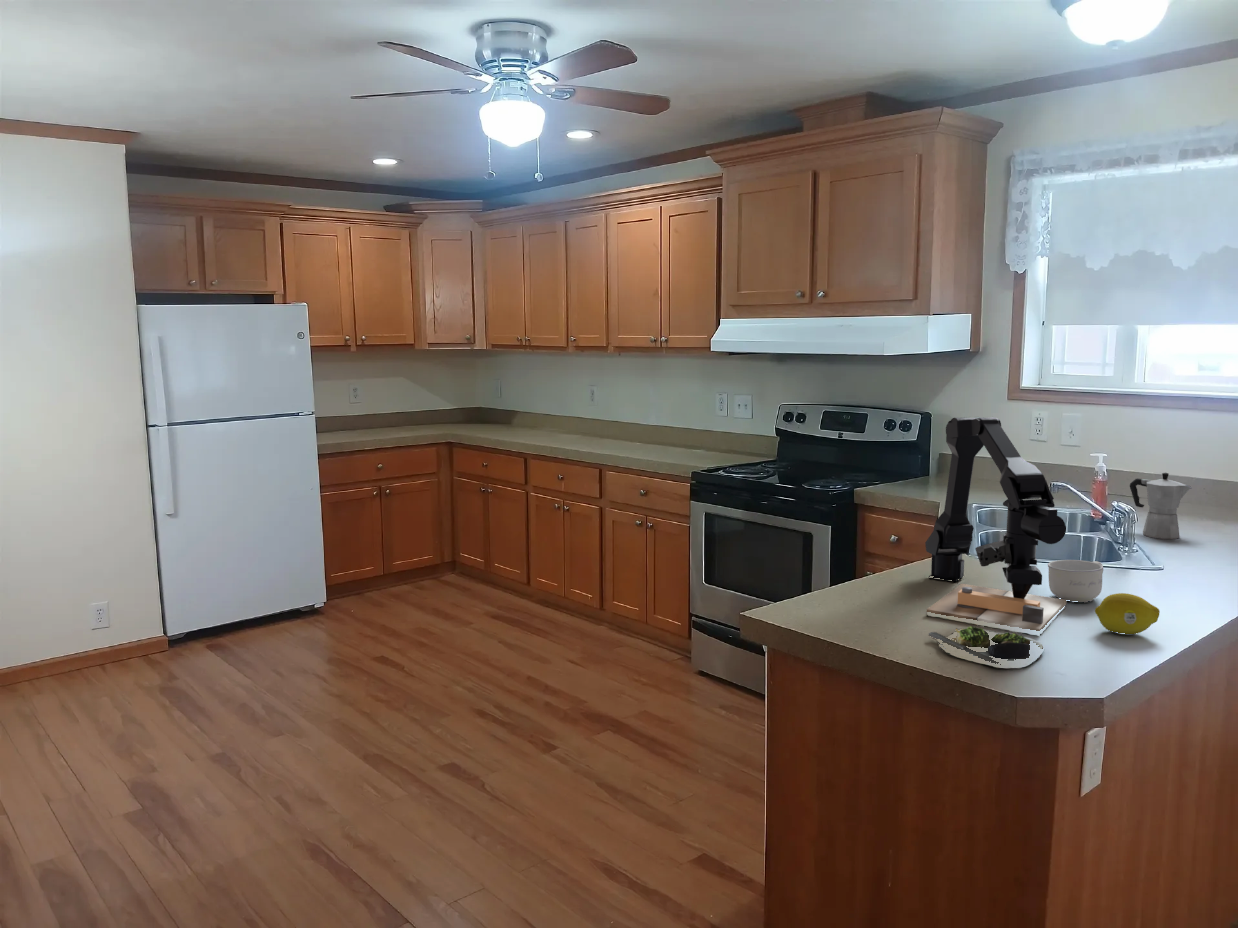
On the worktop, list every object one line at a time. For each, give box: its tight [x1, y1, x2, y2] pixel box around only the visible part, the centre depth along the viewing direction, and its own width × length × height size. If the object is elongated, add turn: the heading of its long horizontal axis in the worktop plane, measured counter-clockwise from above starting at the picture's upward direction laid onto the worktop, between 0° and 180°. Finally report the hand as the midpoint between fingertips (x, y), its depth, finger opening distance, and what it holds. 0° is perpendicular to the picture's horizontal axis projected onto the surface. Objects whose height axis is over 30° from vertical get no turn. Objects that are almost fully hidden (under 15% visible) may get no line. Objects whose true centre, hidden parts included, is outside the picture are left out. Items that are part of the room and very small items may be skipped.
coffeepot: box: [1129, 472, 1193, 540], centre depth 253 cm, size 15×9×18 cm, turn 44°
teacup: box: [1047, 559, 1104, 603], centre depth 197 cm, size 14×11×8 cm
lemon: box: [1094, 592, 1160, 635], centre depth 174 cm, size 11×8×8 cm
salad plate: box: [928, 625, 1044, 665], centre depth 167 cm, size 19×18×5 cm
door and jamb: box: [926, 583, 1067, 631], centre depth 189 cm, size 22×23×4 cm
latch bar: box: [958, 587, 1040, 614], centre depth 185 cm, size 16×2×3 cm, turn 53°
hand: (1017, 605), depth 185 cm, fingers closed
